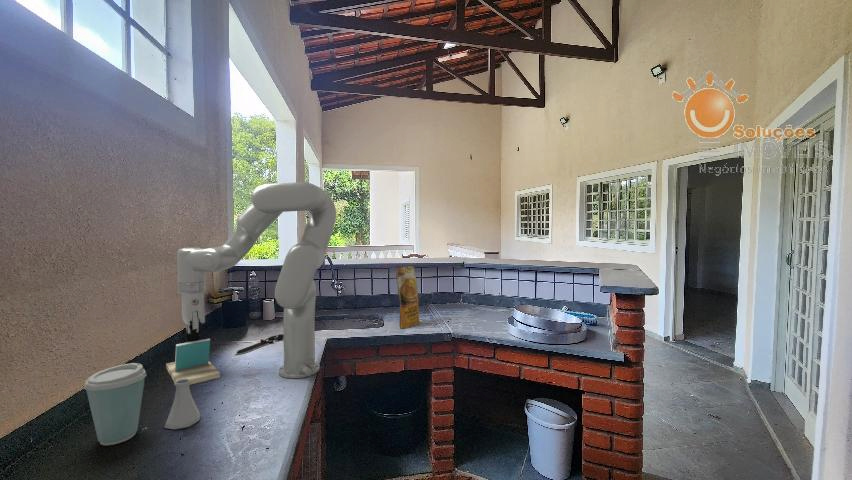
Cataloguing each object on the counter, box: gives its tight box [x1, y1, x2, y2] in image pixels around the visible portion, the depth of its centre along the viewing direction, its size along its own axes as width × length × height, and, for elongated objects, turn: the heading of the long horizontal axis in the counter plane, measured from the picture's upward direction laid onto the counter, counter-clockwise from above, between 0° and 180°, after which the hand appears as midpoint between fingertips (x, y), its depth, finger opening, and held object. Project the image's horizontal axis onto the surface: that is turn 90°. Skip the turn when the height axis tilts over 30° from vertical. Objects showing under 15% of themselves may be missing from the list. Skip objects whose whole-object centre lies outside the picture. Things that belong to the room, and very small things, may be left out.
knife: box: [234, 333, 284, 356], centre depth 147 cm, size 25×6×1 cm, turn 154°
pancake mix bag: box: [395, 265, 421, 329], centre depth 179 cm, size 7×19×28 cm, turn 150°
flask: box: [163, 378, 202, 430], centre depth 89 cm, size 7×7×10 cm
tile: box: [174, 338, 211, 371], centre depth 118 cm, size 9×9×1 cm
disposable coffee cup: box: [84, 362, 147, 447], centre depth 83 cm, size 11×11×15 cm
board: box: [165, 361, 221, 386], centre depth 119 cm, size 20×11×2 cm, turn 42°
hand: (192, 344), depth 118 cm, fingers closed
